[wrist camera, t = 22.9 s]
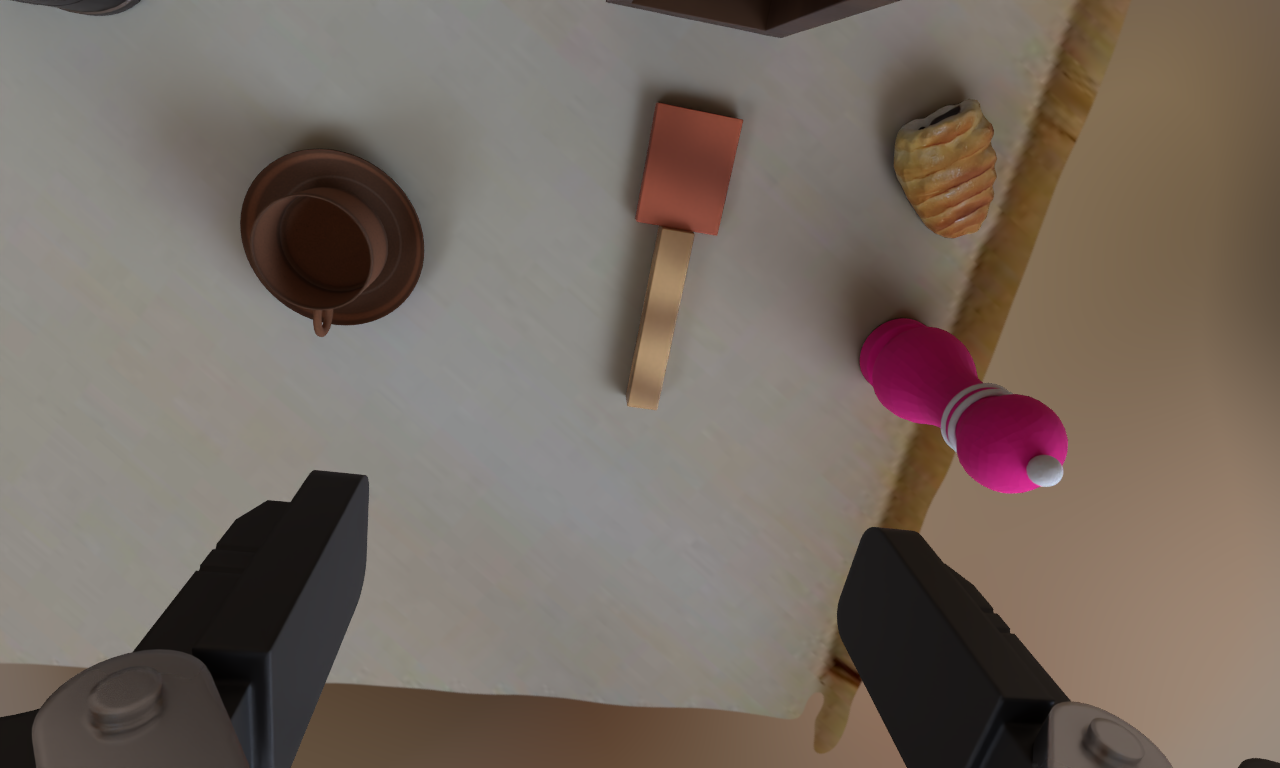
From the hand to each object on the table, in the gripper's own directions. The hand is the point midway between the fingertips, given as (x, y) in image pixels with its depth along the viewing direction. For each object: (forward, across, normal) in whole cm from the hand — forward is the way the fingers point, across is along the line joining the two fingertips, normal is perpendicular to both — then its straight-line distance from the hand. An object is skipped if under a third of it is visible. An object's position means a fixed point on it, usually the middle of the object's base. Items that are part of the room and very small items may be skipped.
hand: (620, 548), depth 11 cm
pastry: (+41, -26, -7) cm, 49 cm away
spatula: (+41, -7, +4) cm, 42 cm away
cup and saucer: (+42, +16, +5) cm, 45 cm away
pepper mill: (+41, -27, +8) cm, 50 cm away
